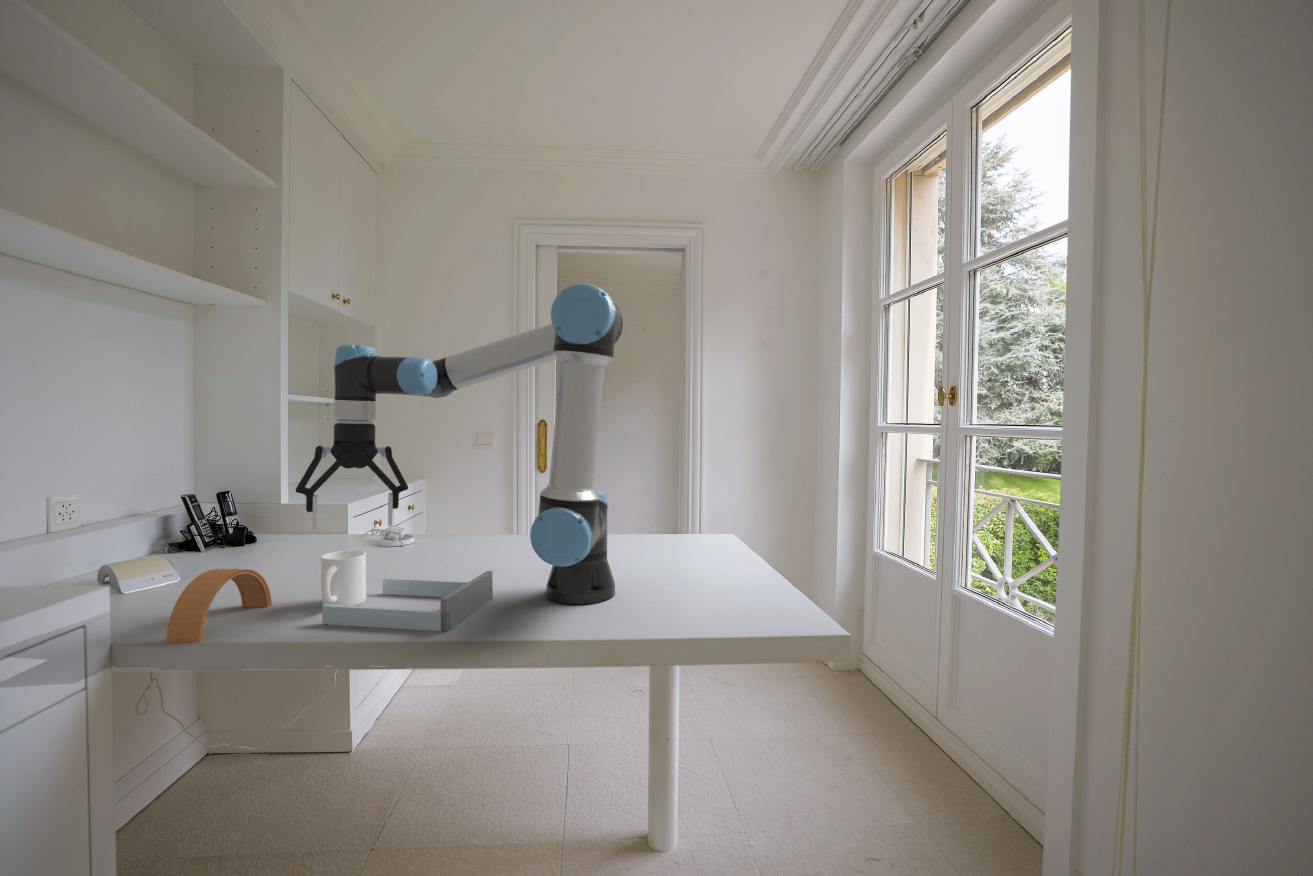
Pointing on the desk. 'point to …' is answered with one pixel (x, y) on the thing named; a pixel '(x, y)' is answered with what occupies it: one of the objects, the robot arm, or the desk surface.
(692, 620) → the desk surface
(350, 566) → the mug
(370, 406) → the robot arm
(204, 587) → the arch
